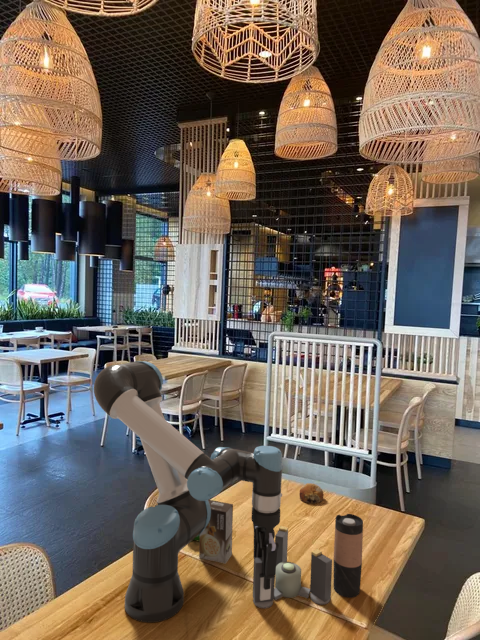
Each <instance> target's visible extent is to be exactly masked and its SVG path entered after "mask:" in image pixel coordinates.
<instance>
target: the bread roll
mask: <svg viewBox="0 0 480 640" xmlns="http://www.w3.org/2000/svg"><path fill="white" fill-rule="evenodd" d="M299 500H300V501H302V502H303V501H304V503H307V504H318V503H321V502H322V501H324V491H323V488H321V486H319V485H318V484H316V483H311V482H308V483H305V484H304V485H303V486H301V487H300V489H299Z"/></svg>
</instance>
